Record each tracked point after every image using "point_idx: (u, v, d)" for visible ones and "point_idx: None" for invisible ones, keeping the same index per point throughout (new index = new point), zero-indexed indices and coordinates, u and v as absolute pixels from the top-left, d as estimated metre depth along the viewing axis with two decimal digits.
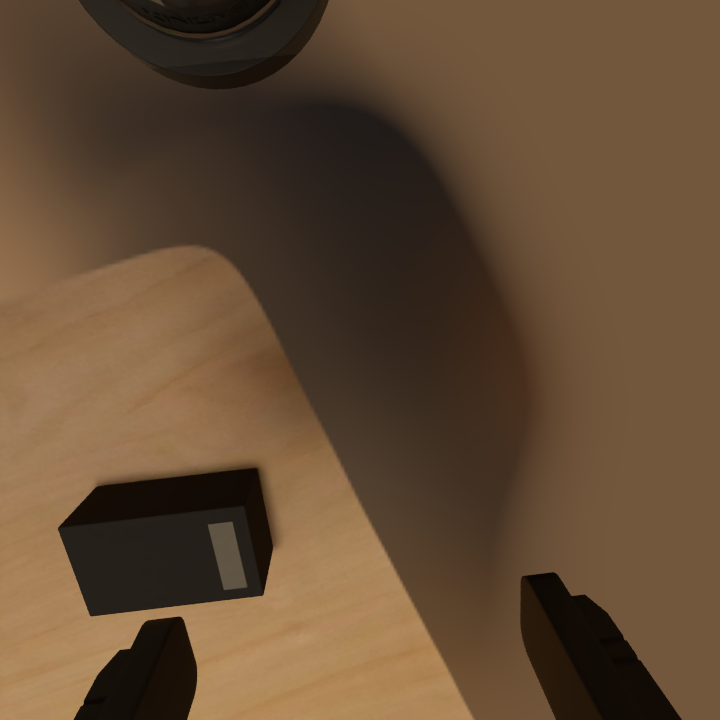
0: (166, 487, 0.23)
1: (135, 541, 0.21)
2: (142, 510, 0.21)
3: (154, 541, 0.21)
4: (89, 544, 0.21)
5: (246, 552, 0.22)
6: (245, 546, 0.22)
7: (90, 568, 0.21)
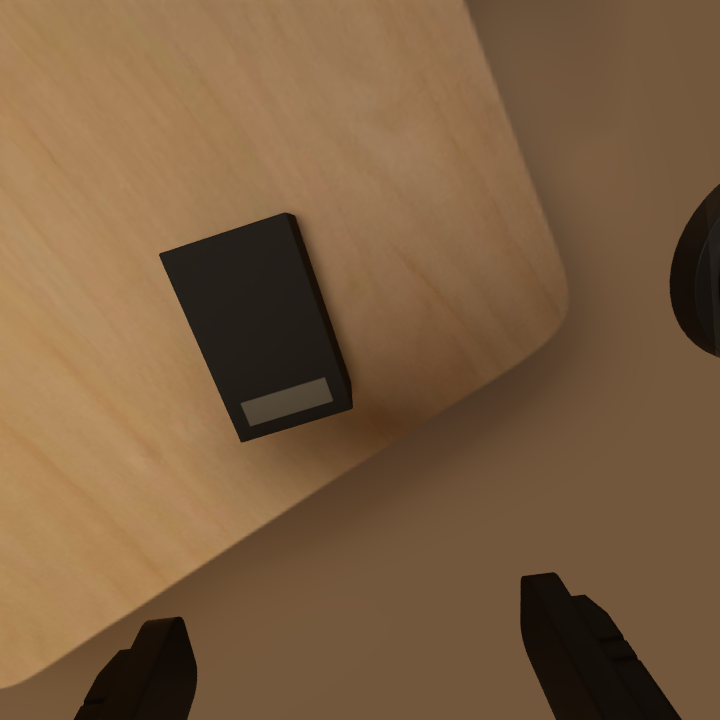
0: (322, 303, 0.21)
1: (285, 303, 0.18)
2: (317, 300, 0.19)
3: (290, 324, 0.19)
4: (269, 251, 0.18)
5: (295, 418, 0.20)
6: (303, 417, 0.20)
7: (235, 253, 0.18)
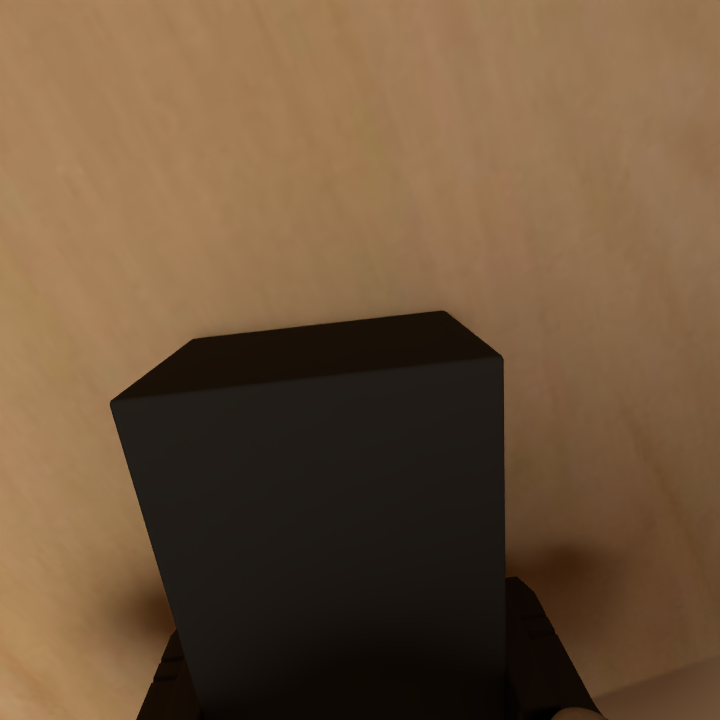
0: None
1: (427, 568, 0.07)
2: None
3: (424, 614, 0.07)
4: (427, 445, 0.06)
5: None
6: None
7: (333, 434, 0.06)
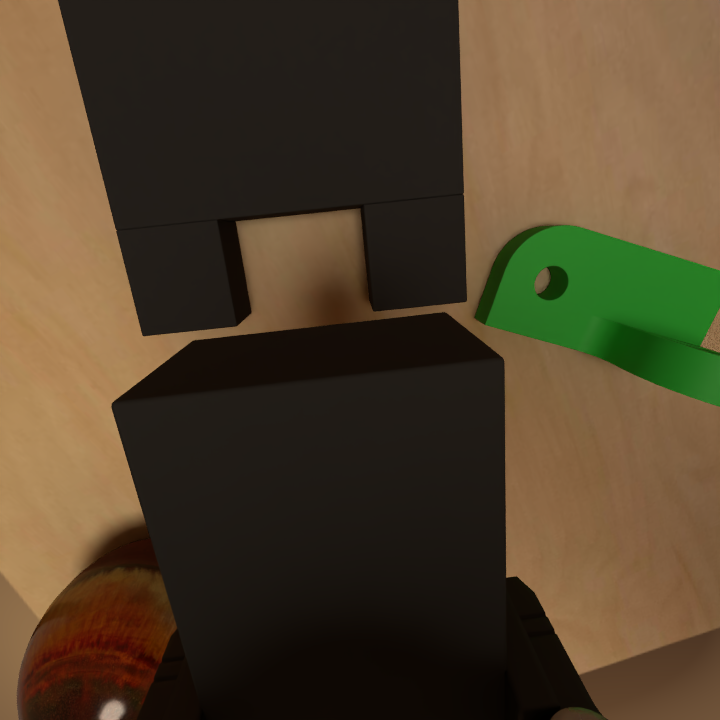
0: None
1: (428, 570, 0.07)
2: None
3: (425, 614, 0.07)
4: (427, 446, 0.06)
5: None
6: None
7: (334, 436, 0.06)
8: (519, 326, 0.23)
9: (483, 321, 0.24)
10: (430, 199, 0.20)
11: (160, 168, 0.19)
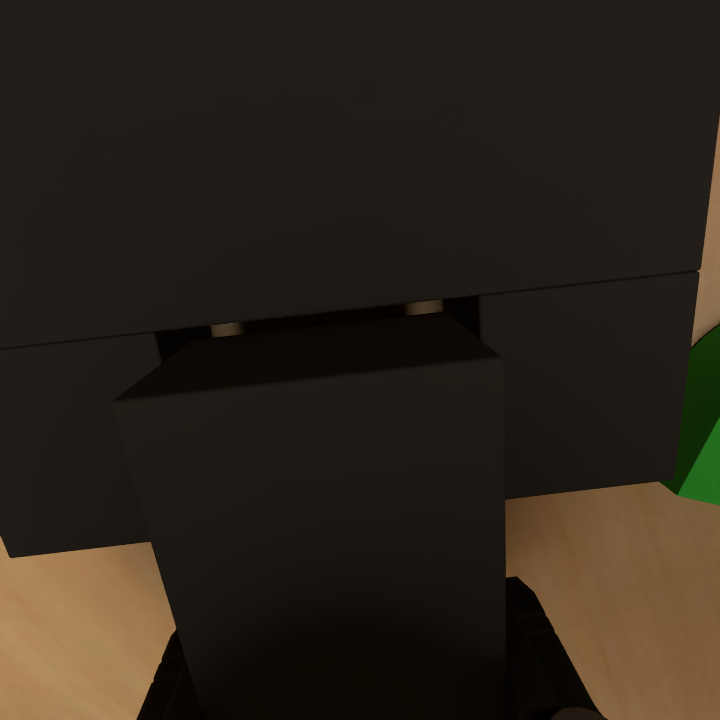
0: None
1: (428, 569, 0.07)
2: None
3: (424, 614, 0.07)
4: (426, 445, 0.06)
5: None
6: None
7: (333, 435, 0.06)
8: None
9: (668, 484, 0.13)
10: (627, 283, 0.09)
11: (13, 223, 0.08)
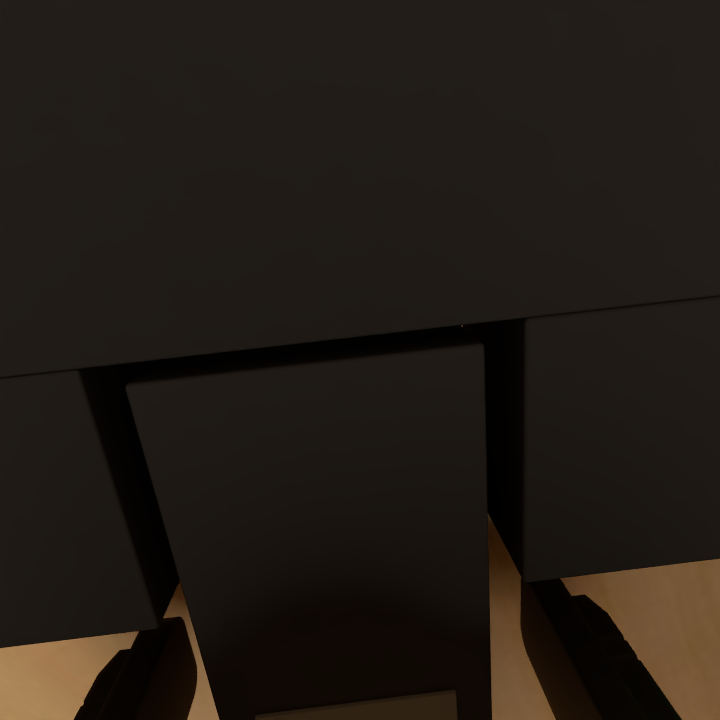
0: None
1: (416, 541, 0.08)
2: None
3: (413, 584, 0.08)
4: (415, 425, 0.07)
5: None
6: None
7: (328, 416, 0.07)
8: None
9: None
10: None
11: None
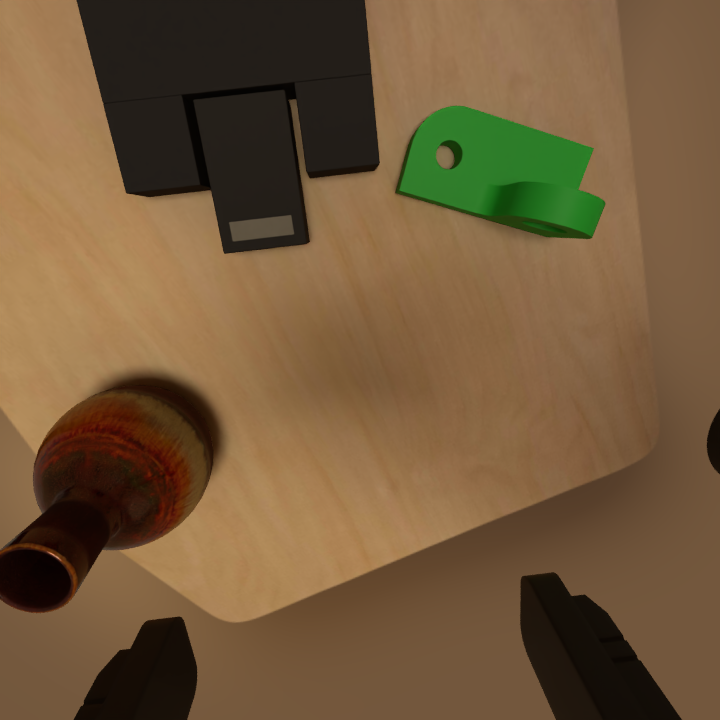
0: (298, 171, 0.30)
1: (273, 154, 0.27)
2: (295, 160, 0.28)
3: (273, 170, 0.27)
4: (268, 114, 0.26)
5: (265, 242, 0.28)
6: (271, 242, 0.28)
7: (245, 110, 0.26)
8: (426, 191, 0.29)
9: (398, 189, 0.30)
10: (345, 78, 0.26)
11: (136, 52, 0.25)
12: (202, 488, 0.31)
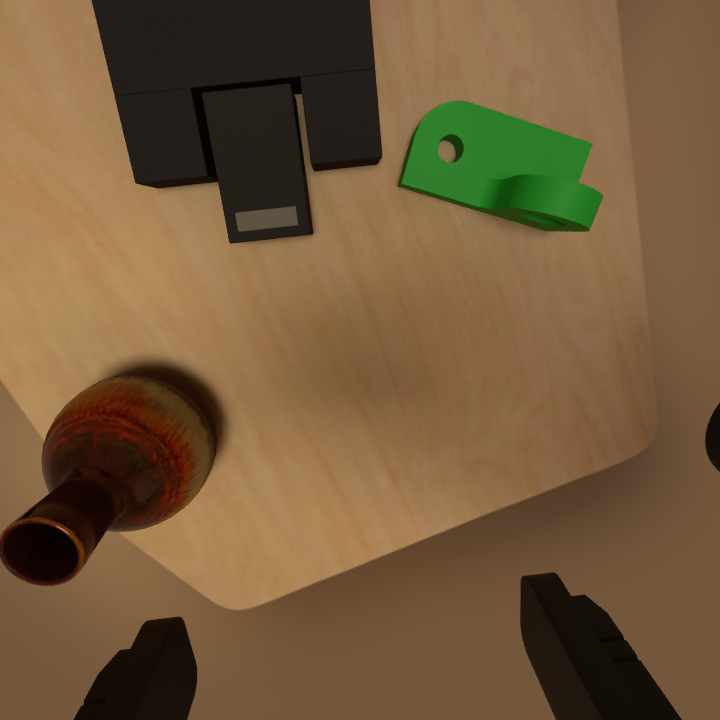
0: (303, 164, 0.30)
1: (278, 146, 0.28)
2: (300, 152, 0.28)
3: (279, 162, 0.28)
4: (274, 107, 0.27)
5: (270, 233, 0.29)
6: (275, 233, 0.29)
7: (252, 103, 0.27)
8: (427, 185, 0.30)
9: (401, 182, 0.30)
10: (350, 72, 0.27)
11: (147, 46, 0.26)
12: (205, 473, 0.32)
